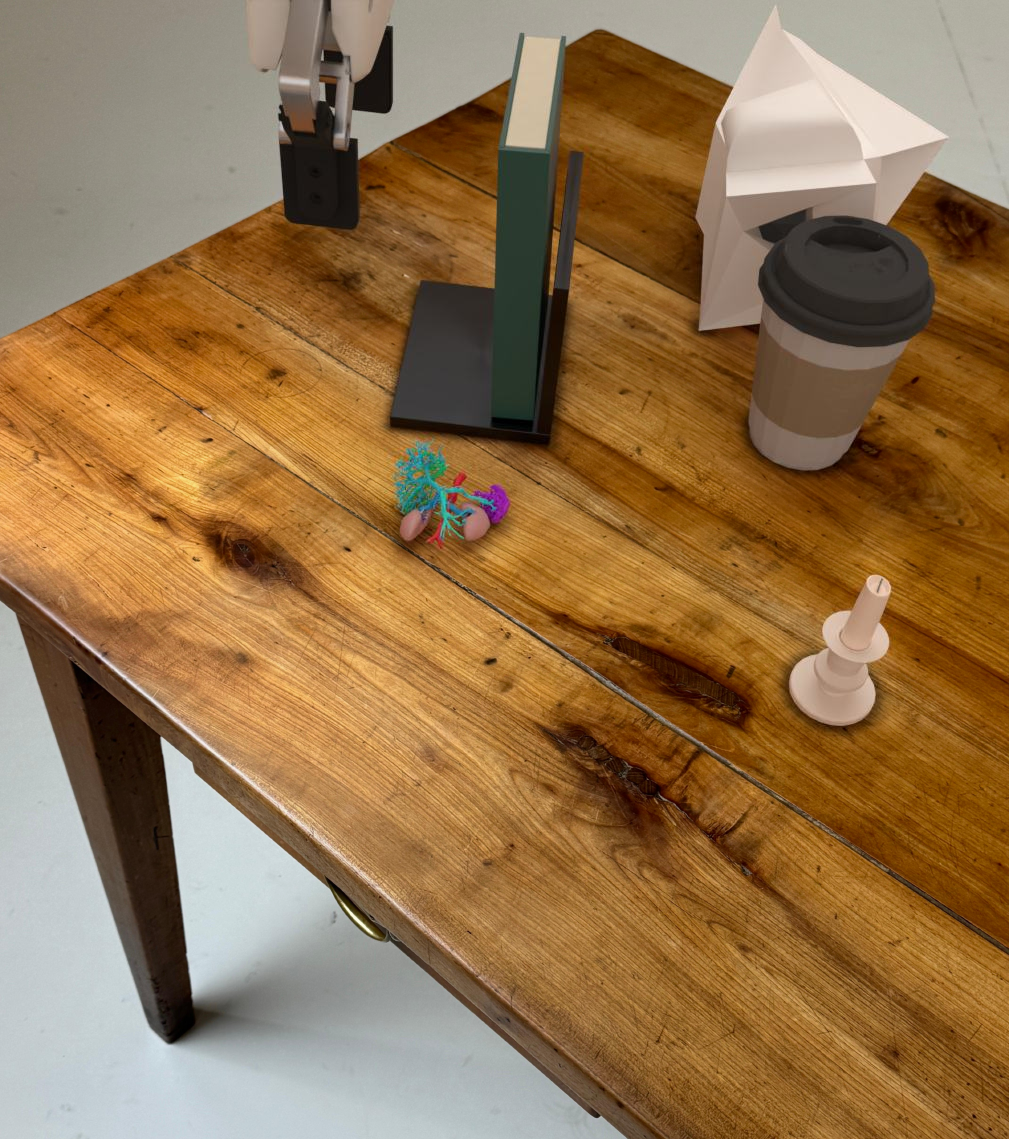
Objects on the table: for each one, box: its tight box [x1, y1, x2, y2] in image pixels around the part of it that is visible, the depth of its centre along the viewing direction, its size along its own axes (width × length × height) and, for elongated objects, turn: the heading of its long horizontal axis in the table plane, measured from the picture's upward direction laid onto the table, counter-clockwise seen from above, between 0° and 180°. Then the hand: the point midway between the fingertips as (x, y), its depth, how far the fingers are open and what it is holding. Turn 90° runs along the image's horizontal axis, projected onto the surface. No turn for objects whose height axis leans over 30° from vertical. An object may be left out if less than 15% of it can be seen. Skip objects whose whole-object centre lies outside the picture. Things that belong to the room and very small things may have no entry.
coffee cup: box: [747, 215, 936, 471], centre depth 86 cm, size 11×11×15 cm
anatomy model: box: [392, 439, 511, 550], centre depth 82 cm, size 5×8×7 cm
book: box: [491, 32, 567, 420], centre depth 86 cm, size 20×14×3 cm
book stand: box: [389, 150, 585, 446], centre depth 90 cm, size 11×16×13 cm
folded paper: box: [694, 4, 950, 332], centre depth 99 cm, size 17×24×17 cm
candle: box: [788, 574, 892, 727], centre depth 74 cm, size 5×5×10 cm
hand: (341, 162), depth 59 cm, fingers open, 9 cm apart
